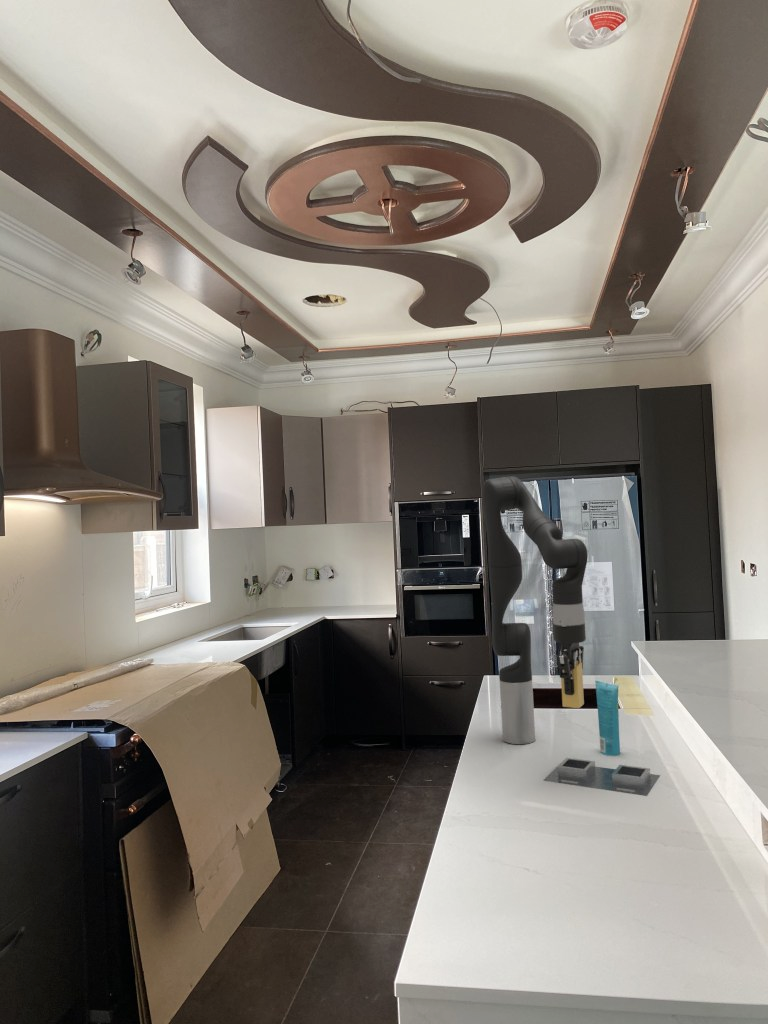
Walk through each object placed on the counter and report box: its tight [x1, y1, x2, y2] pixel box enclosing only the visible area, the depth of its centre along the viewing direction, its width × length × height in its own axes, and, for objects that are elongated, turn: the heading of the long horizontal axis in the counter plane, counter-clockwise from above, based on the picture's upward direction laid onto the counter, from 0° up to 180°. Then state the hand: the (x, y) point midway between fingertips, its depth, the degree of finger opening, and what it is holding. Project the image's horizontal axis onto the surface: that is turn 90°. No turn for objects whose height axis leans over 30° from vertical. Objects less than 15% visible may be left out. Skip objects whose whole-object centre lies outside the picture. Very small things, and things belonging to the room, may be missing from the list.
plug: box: [560, 661, 585, 709], centre depth 181 cm, size 4×4×11 cm
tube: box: [594, 680, 621, 757], centre depth 196 cm, size 7×5×19 cm, turn 39°
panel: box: [542, 757, 661, 797], centre depth 178 cm, size 14×24×4 cm, turn 58°
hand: (572, 691), depth 181 cm, fingers closed on plug, 4 cm apart
